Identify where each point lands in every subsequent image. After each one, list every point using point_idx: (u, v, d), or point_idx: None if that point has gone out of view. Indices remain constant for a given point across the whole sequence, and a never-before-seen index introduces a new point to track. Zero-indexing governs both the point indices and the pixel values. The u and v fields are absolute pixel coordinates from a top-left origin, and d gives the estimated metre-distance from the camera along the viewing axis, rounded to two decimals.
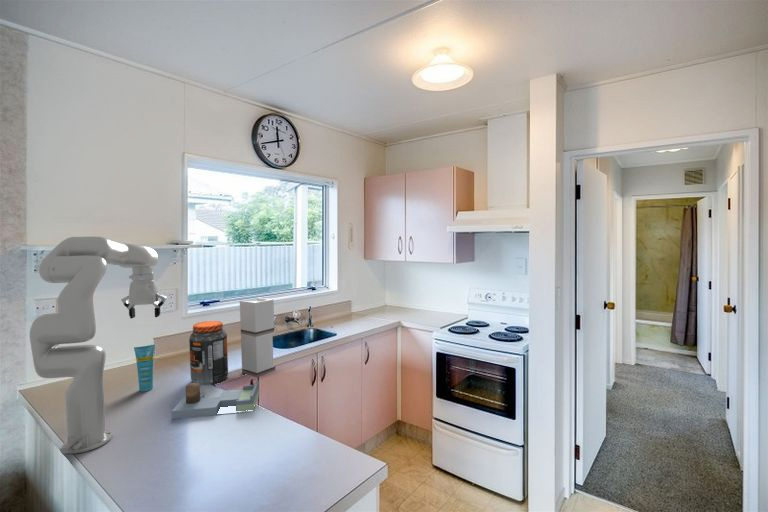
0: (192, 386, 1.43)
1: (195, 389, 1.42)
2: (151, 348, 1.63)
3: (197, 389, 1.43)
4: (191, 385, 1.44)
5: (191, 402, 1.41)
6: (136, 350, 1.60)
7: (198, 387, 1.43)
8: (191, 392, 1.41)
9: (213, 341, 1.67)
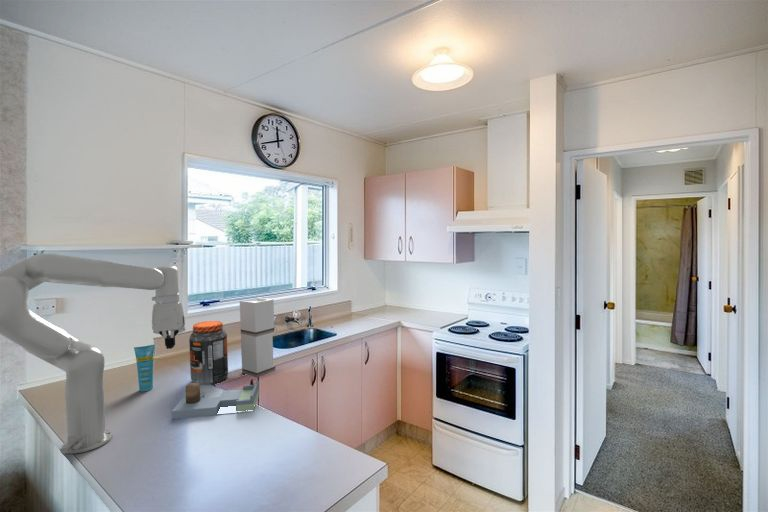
0: (192, 386, 1.43)
1: (195, 389, 1.42)
2: (151, 348, 1.63)
3: (197, 389, 1.43)
4: (191, 385, 1.44)
5: (191, 402, 1.41)
6: (136, 350, 1.60)
7: (198, 387, 1.43)
8: (191, 392, 1.41)
9: (213, 341, 1.67)
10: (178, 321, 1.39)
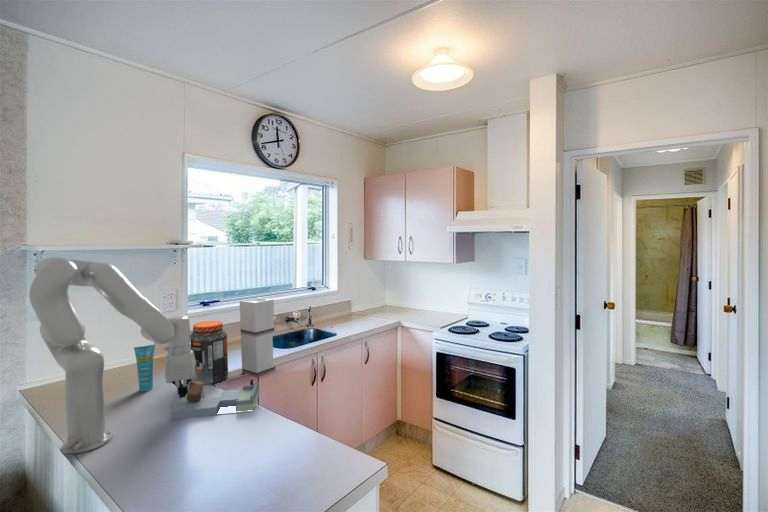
0: (197, 384, 1.44)
1: (199, 387, 1.42)
2: (151, 348, 1.63)
3: (201, 388, 1.43)
4: (196, 383, 1.44)
5: (192, 400, 1.41)
6: (136, 350, 1.60)
7: (202, 386, 1.44)
8: (194, 390, 1.42)
9: (213, 341, 1.67)
10: (191, 371, 1.41)
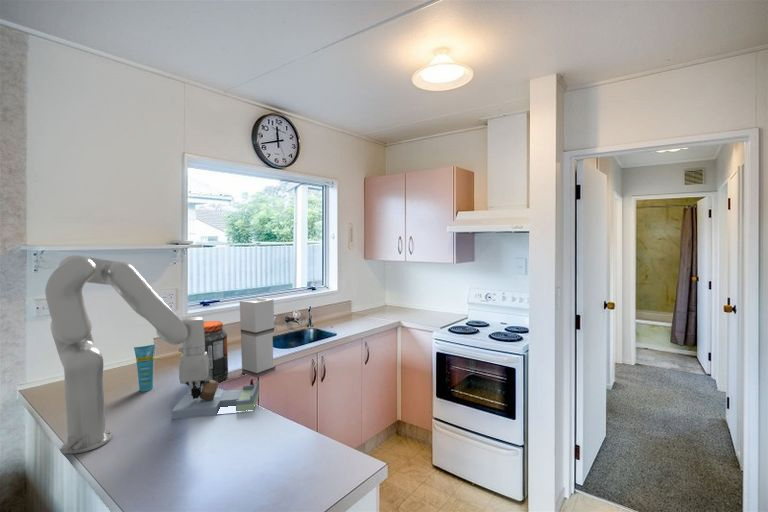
0: (212, 382, 1.45)
1: (214, 386, 1.44)
2: (151, 348, 1.63)
3: (216, 387, 1.44)
4: (210, 382, 1.45)
5: (206, 398, 1.42)
6: (136, 350, 1.60)
7: (217, 385, 1.45)
8: (210, 389, 1.43)
9: (213, 341, 1.67)
10: (205, 372, 1.42)
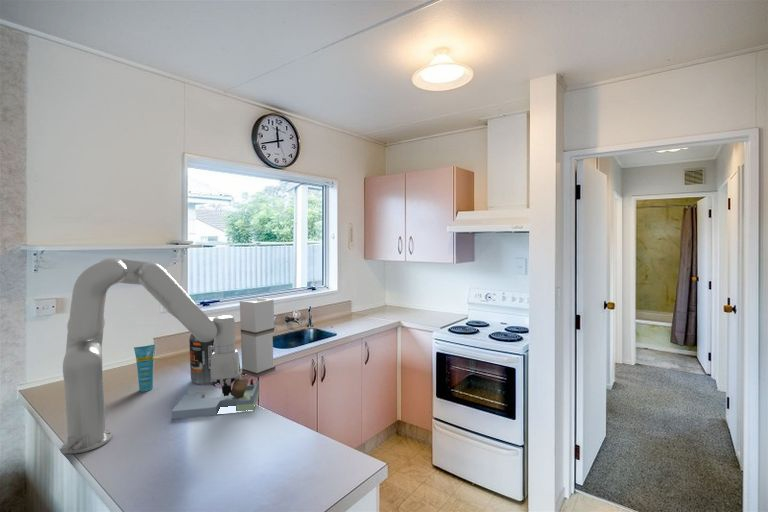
0: (242, 380, 1.47)
1: (246, 384, 1.46)
2: (151, 348, 1.63)
3: (246, 384, 1.47)
4: (240, 379, 1.47)
5: (238, 396, 1.45)
6: (136, 350, 1.60)
7: (247, 382, 1.48)
8: (242, 386, 1.45)
9: (213, 341, 1.67)
10: (235, 370, 1.44)
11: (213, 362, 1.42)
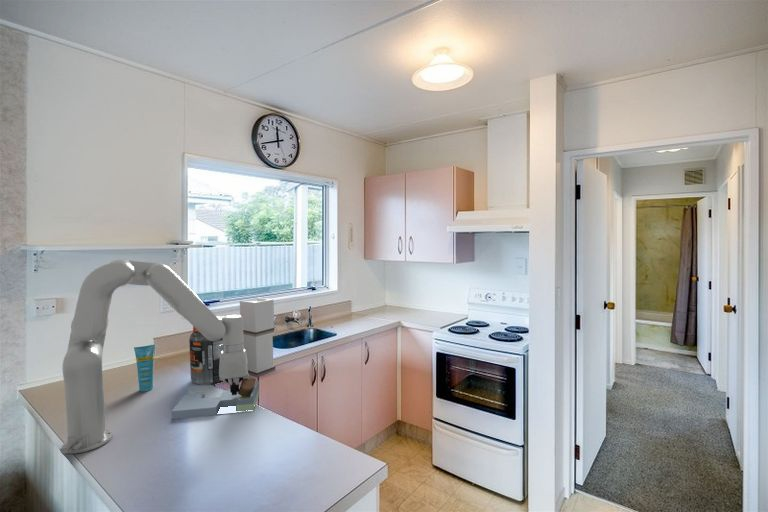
0: (250, 379, 1.48)
1: (253, 383, 1.47)
2: (151, 348, 1.63)
3: (254, 383, 1.48)
4: (248, 378, 1.48)
5: (246, 395, 1.46)
6: (136, 350, 1.60)
7: None
8: (250, 386, 1.46)
9: (213, 341, 1.67)
10: (244, 369, 1.44)
11: (222, 361, 1.43)
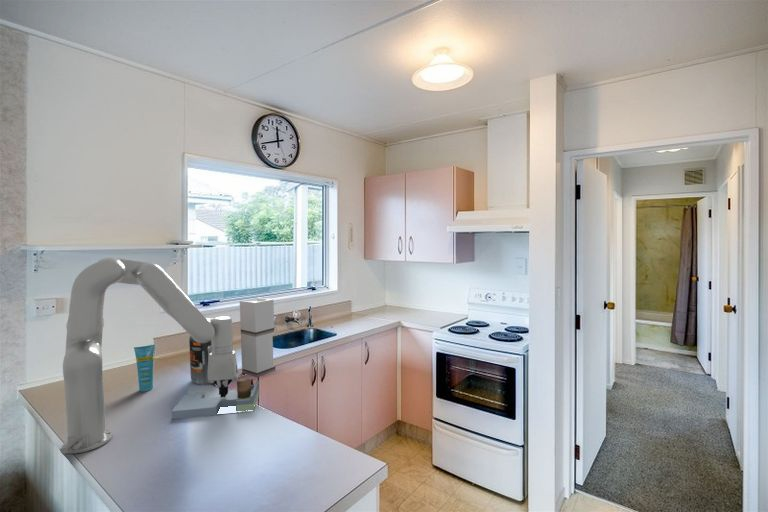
0: (244, 381, 1.47)
1: (249, 383, 1.47)
2: (151, 348, 1.63)
3: (250, 383, 1.48)
4: (242, 381, 1.47)
5: (246, 396, 1.46)
6: (136, 350, 1.60)
7: (250, 381, 1.48)
8: (246, 387, 1.46)
9: None
10: (232, 371, 1.43)
11: (210, 363, 1.42)
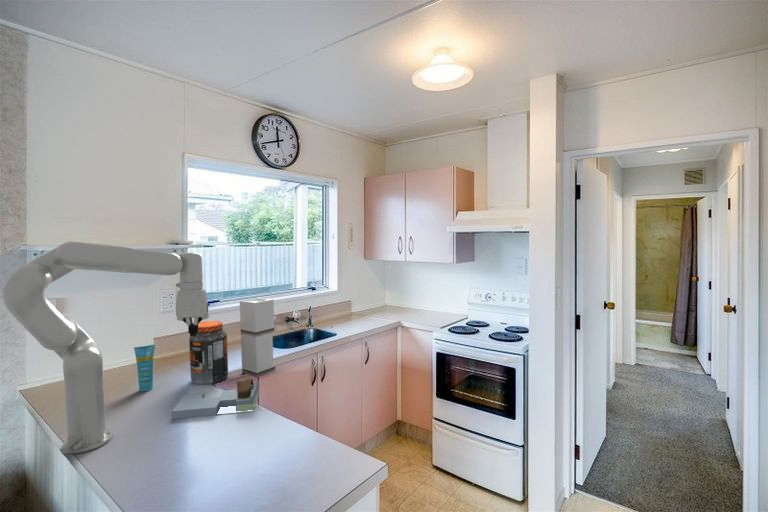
0: (244, 381, 1.47)
1: (249, 383, 1.47)
2: (151, 348, 1.63)
3: (250, 383, 1.48)
4: (242, 381, 1.47)
5: (246, 396, 1.46)
6: (136, 350, 1.60)
7: (250, 381, 1.48)
8: (246, 387, 1.46)
9: (213, 341, 1.67)
10: (202, 308, 1.37)
11: (178, 299, 1.36)
